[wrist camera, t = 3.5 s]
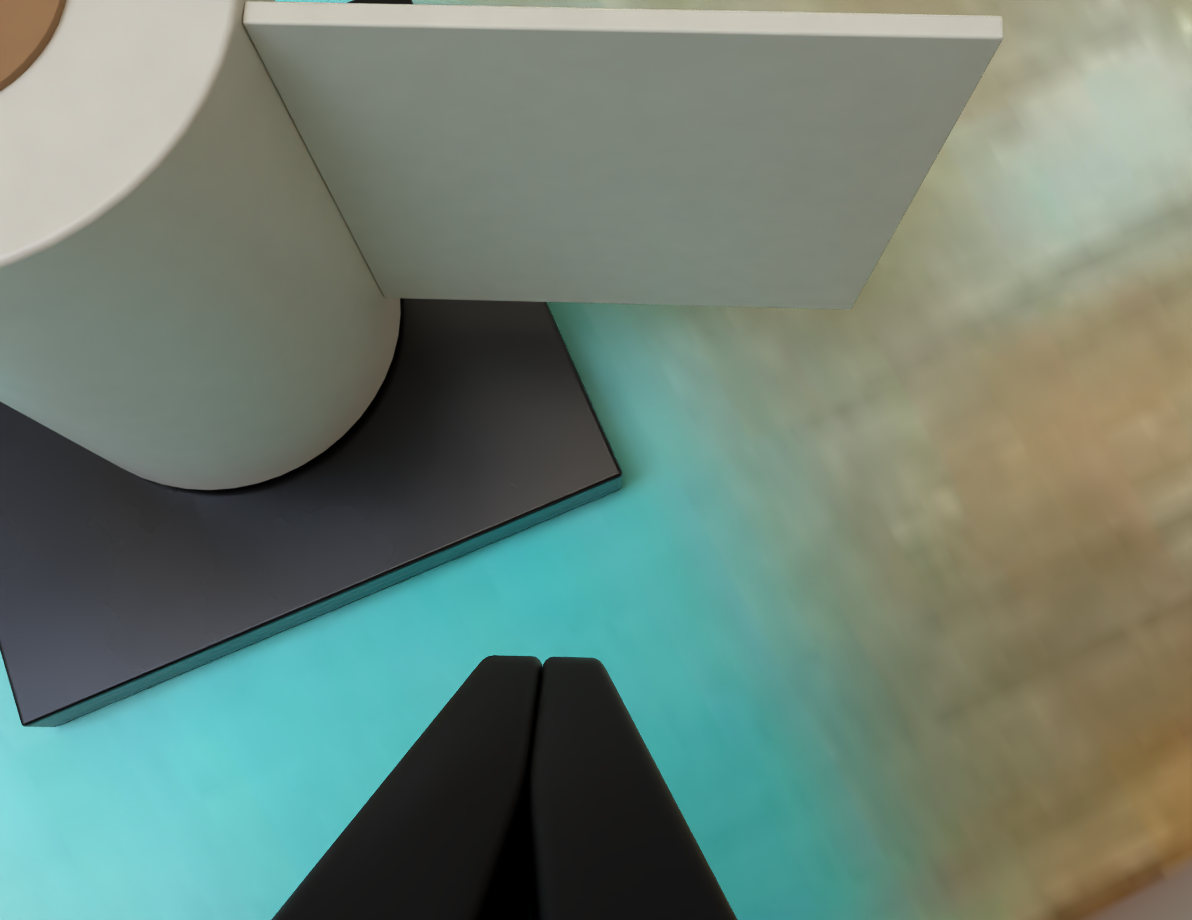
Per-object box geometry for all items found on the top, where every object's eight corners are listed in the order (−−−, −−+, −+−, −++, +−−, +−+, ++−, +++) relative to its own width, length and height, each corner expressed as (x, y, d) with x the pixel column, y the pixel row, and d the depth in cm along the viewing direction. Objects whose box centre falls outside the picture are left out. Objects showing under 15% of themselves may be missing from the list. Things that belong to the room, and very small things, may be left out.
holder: (623, 488, 22) (624, 474, 21) (53, 728, 21) (21, 727, 20) (413, 15, 25) (403, -20, 24) (-102, 207, 24) (-138, 180, 23)
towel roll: (839, 338, 21) (1022, 16, 12) (133, 631, 20) (-297, 536, 11) (658, -15, 23) (691, -535, 14) (6, 234, 22) (-453, -148, 13)
